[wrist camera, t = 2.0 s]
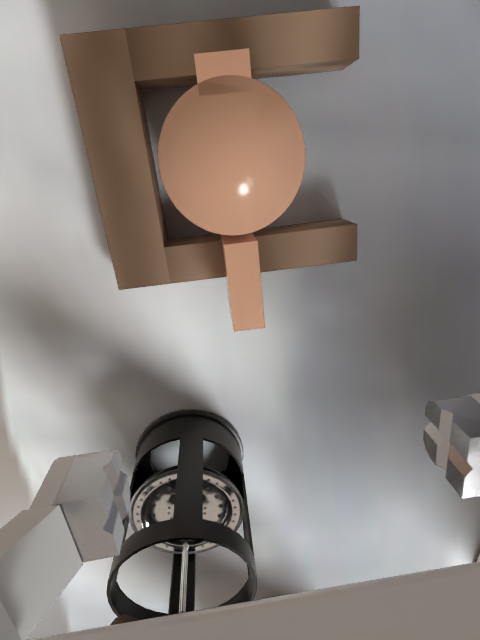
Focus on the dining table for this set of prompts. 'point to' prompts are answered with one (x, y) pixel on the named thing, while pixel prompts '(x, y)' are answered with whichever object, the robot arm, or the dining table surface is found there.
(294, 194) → the tan rounded piece
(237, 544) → the french press
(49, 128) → the dining table surface
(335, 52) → the brown block arch
